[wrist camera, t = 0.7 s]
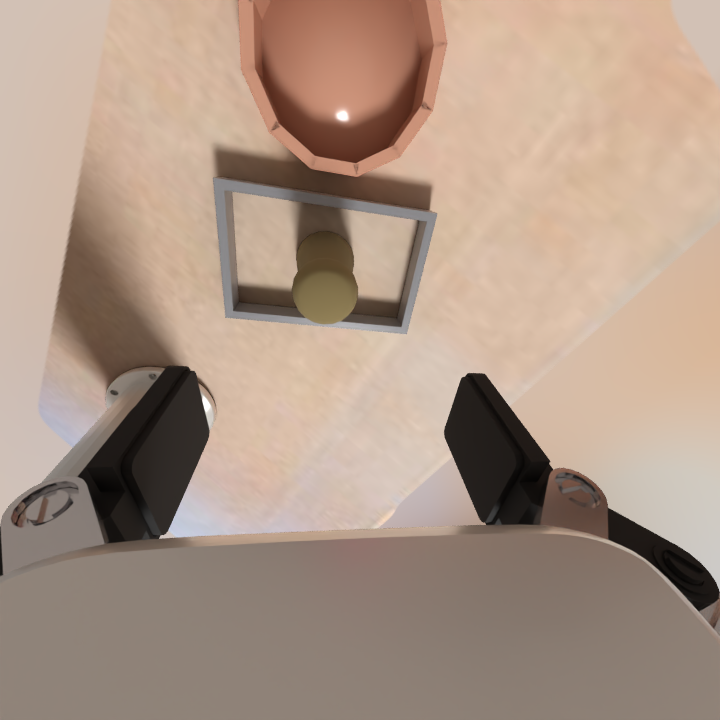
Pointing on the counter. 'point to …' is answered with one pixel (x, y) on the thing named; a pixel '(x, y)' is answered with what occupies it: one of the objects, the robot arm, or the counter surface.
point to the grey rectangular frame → (226, 217)
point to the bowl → (343, 75)
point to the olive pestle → (325, 278)
